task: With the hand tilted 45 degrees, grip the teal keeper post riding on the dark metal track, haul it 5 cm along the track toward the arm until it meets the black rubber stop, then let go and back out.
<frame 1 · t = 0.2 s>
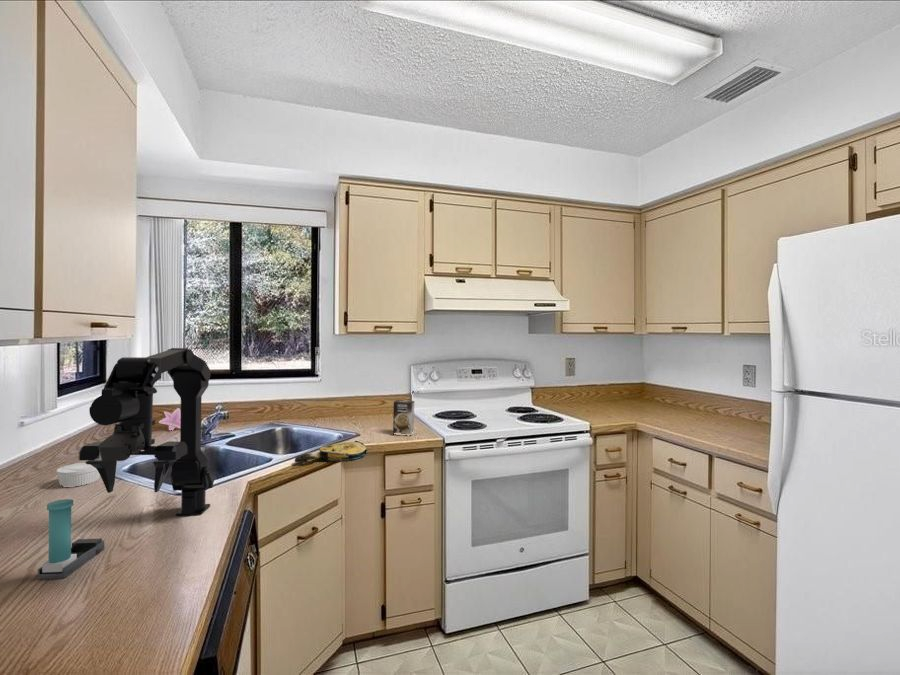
hand: (133, 491, 96), 15 cm above the worktop, tool pointing down, fingers open, 9 cm apart
keeper track: (73, 563, 95), on the worktop
lily: (173, 430, 224), on the worktop
keeper: (60, 534, 92), point 8 cm above the worktop, slide at 0.0 cm
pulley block: (333, 460, 177), on the worktop
ramekin: (79, 484, 145), on the worktop
coffee box: (403, 435, 221), on the worktop
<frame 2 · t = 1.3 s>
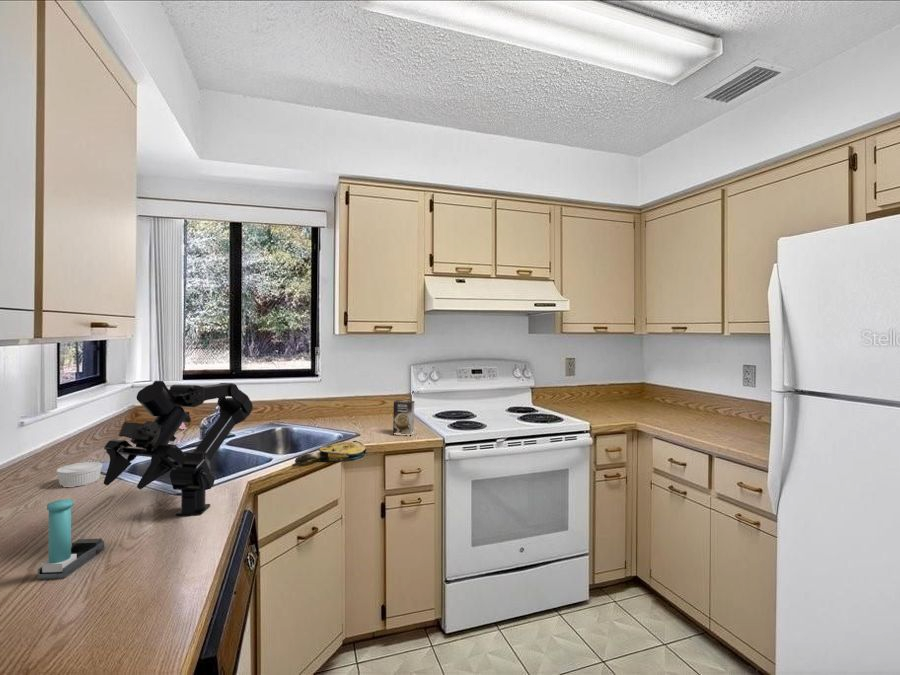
hand: (121, 486, 102), 14 cm above the worktop, tool tilted 45°, fingers open, 9 cm apart
nothing on the worktop moved.
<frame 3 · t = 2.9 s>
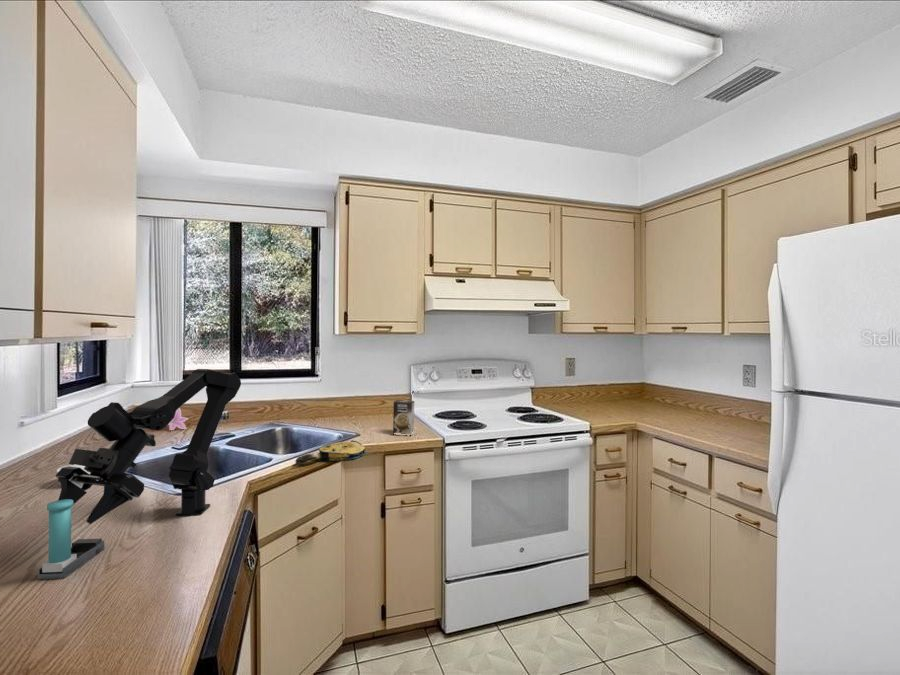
hand: (71, 520, 94), 10 cm above the worktop, tool tilted 45°, fingers open, 9 cm apart
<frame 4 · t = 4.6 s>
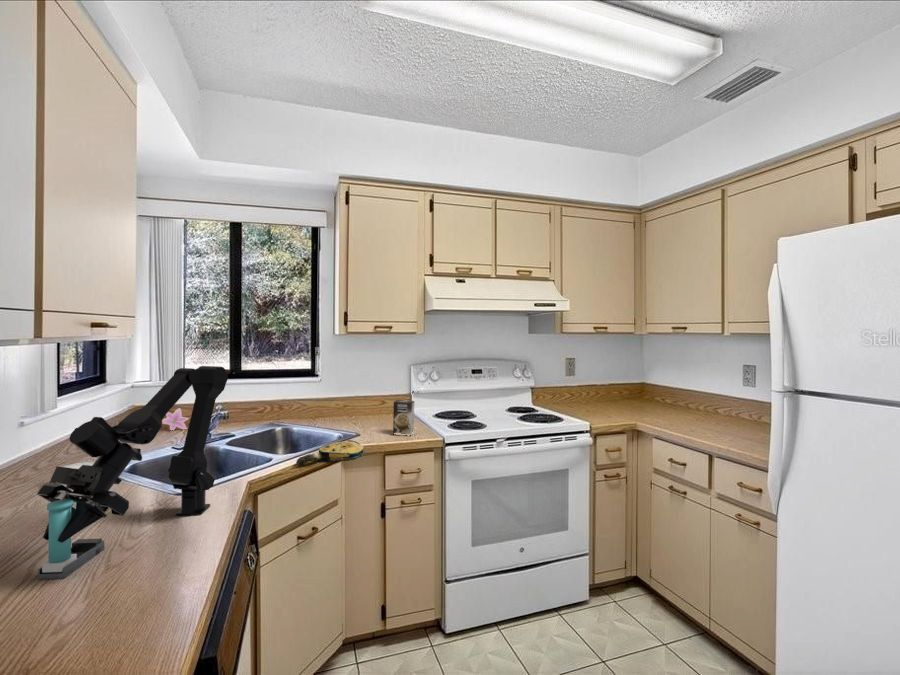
hand: (52, 540, 90), 7 cm above the worktop, tool tilted 45°, fingers closed on keeper, 3 cm apart
keeper: (60, 534, 92), point 8 cm above the worktop, slide at 0.0 cm, touching gripper
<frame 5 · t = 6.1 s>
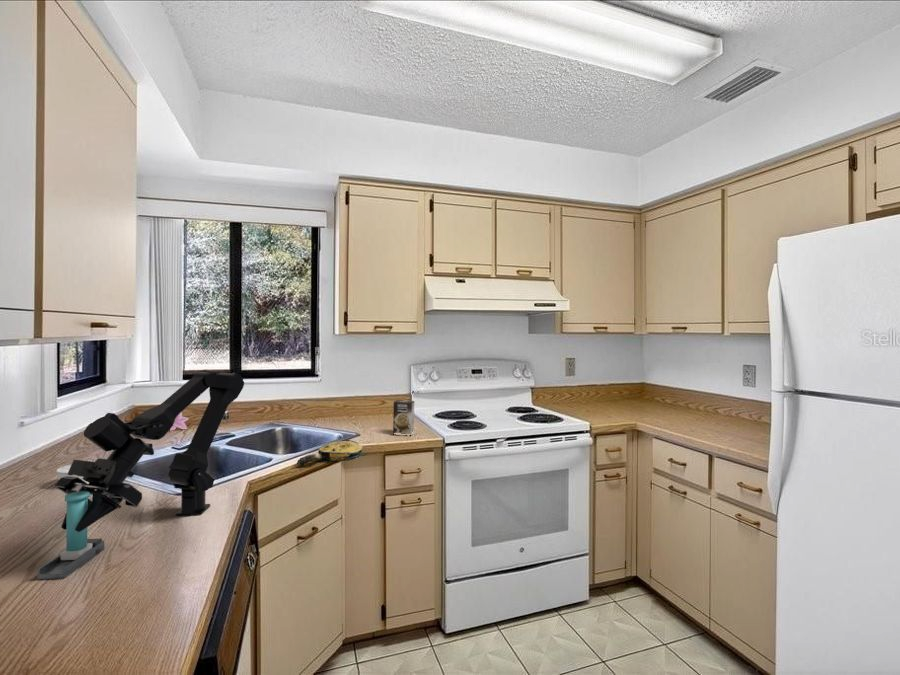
hand: (70, 529, 95), 7 cm above the worktop, tool tilted 45°, fingers closed on keeper, 3 cm apart
keeper: (77, 524, 96), point 8 cm above the worktop, slide at 4.8 cm, touching gripper
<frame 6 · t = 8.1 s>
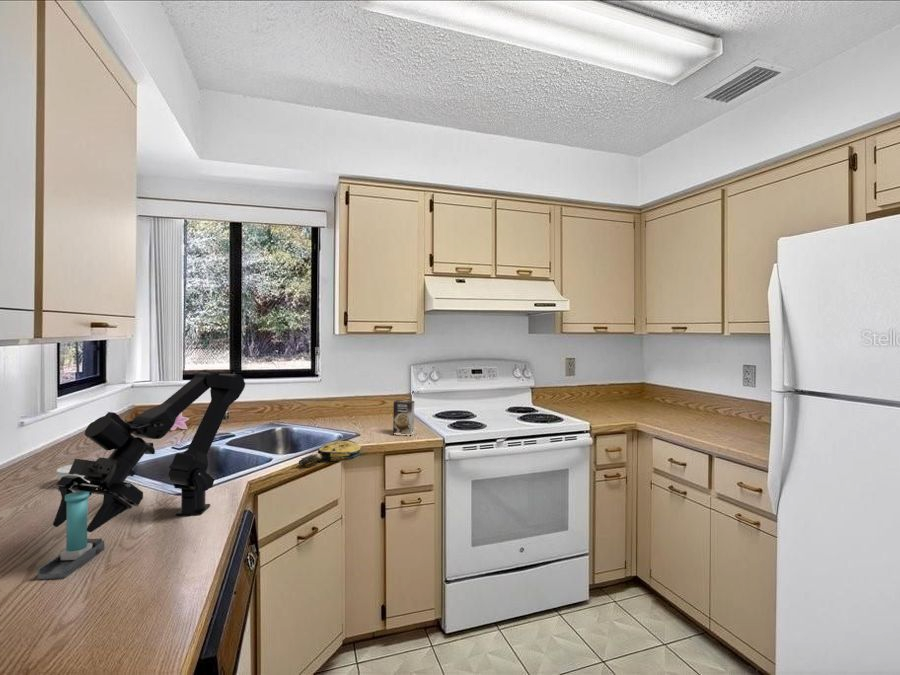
hand: (71, 528, 95), 7 cm above the worktop, tool tilted 45°, fingers open, 9 cm apart
keeper: (77, 524, 96), point 8 cm above the worktop, slide at 4.8 cm
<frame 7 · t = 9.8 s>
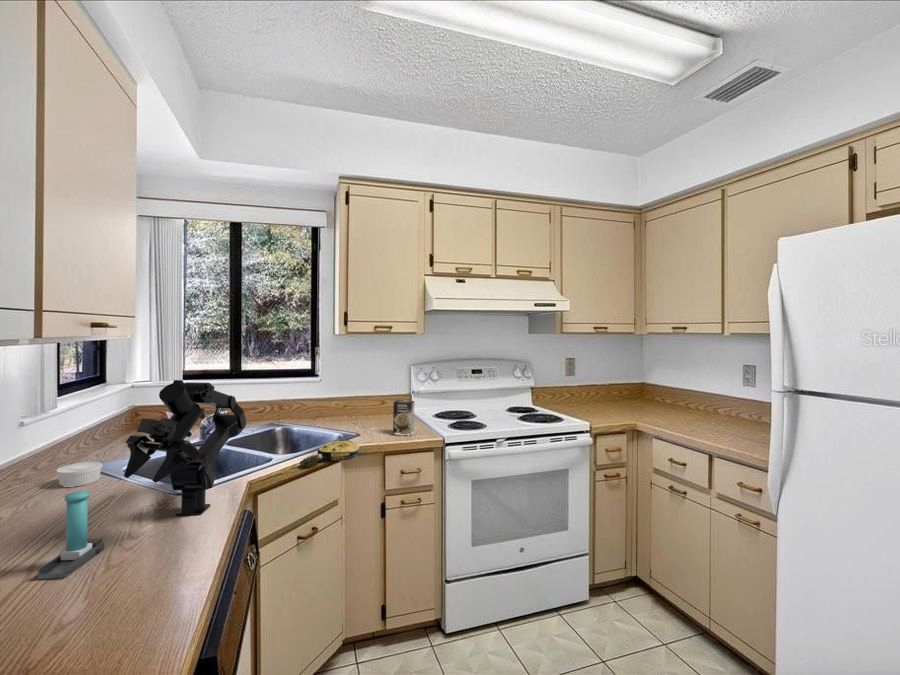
hand: (139, 479, 108), 13 cm above the worktop, tool tilted 45°, fingers open, 9 cm apart
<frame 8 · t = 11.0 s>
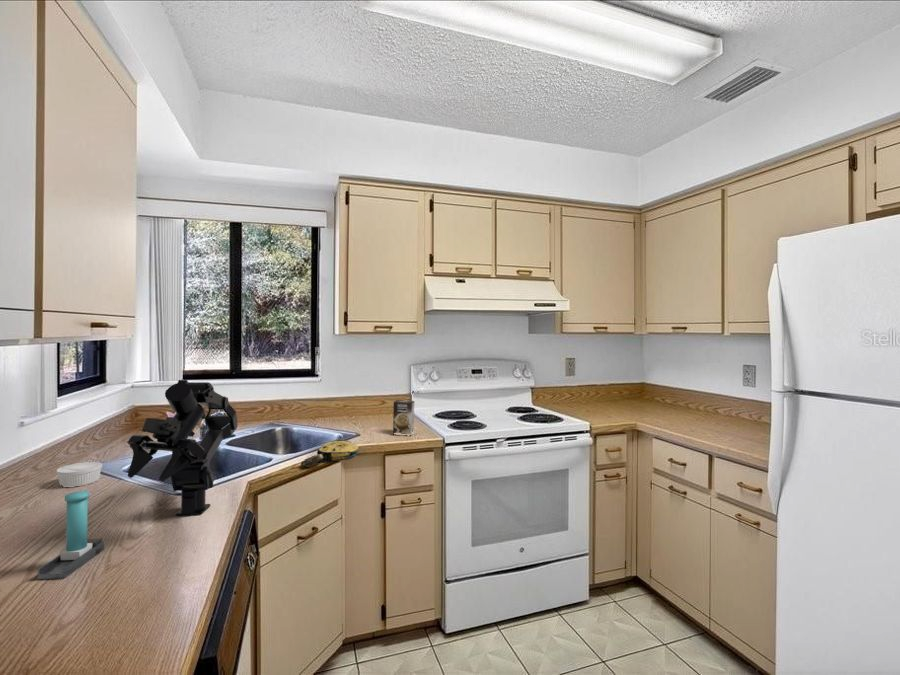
hand: (144, 478, 108), 14 cm above the worktop, tool tilted 45°, fingers open, 9 cm apart
at the end: keeper slide at 4.8 cm; the gripper is holding nothing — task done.
